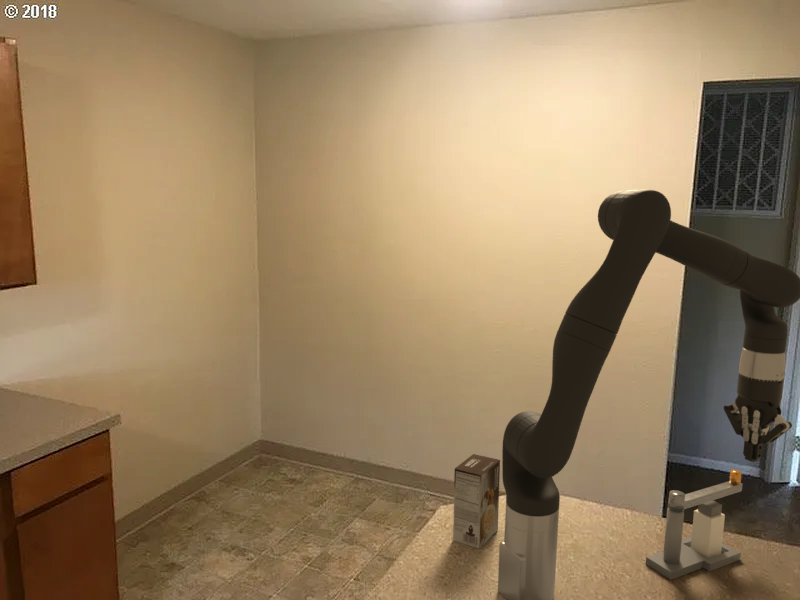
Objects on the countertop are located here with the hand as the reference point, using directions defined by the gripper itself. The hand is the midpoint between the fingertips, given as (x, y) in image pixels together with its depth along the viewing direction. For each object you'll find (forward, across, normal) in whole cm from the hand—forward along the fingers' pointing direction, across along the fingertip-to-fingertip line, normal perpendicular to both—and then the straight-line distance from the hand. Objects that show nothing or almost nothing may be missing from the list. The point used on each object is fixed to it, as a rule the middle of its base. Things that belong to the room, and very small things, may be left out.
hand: (751, 460), depth 130 cm
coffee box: (+21, -32, -41) cm, 56 cm away
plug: (+21, -5, -4) cm, 22 cm away
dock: (+21, -5, -8) cm, 23 cm away
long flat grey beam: (+9, -5, -6) cm, 12 cm away
